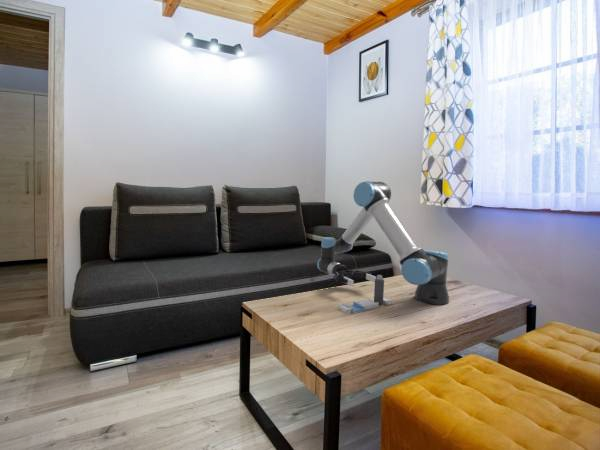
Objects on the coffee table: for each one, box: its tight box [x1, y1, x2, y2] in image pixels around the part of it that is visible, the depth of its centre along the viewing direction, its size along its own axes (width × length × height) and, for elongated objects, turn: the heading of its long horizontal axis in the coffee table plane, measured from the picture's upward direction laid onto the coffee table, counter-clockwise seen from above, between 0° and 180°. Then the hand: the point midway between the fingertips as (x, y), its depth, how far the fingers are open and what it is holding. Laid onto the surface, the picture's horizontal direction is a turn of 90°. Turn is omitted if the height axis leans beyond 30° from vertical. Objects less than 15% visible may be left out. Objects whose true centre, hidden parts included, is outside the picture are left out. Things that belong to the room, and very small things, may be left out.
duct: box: [338, 295, 393, 314], centre depth 152 cm, size 25×7×2 cm, turn 119°
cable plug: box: [373, 274, 385, 307], centre depth 155 cm, size 4×4×13 cm
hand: (364, 281), depth 163 cm, fingers open, 13 cm apart
